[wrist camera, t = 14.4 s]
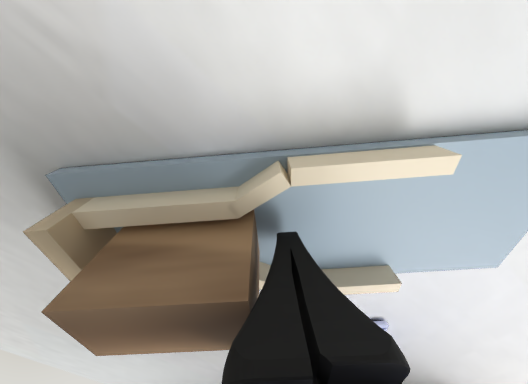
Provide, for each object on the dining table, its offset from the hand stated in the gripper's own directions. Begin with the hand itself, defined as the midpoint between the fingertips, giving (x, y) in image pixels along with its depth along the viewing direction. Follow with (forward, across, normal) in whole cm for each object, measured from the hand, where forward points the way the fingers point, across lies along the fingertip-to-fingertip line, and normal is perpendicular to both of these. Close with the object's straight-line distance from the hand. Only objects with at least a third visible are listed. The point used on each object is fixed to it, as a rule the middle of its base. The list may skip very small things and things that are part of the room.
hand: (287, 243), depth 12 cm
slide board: (+2, -2, 0) cm, 3 cm away
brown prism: (+1, +6, 0) cm, 6 cm away
